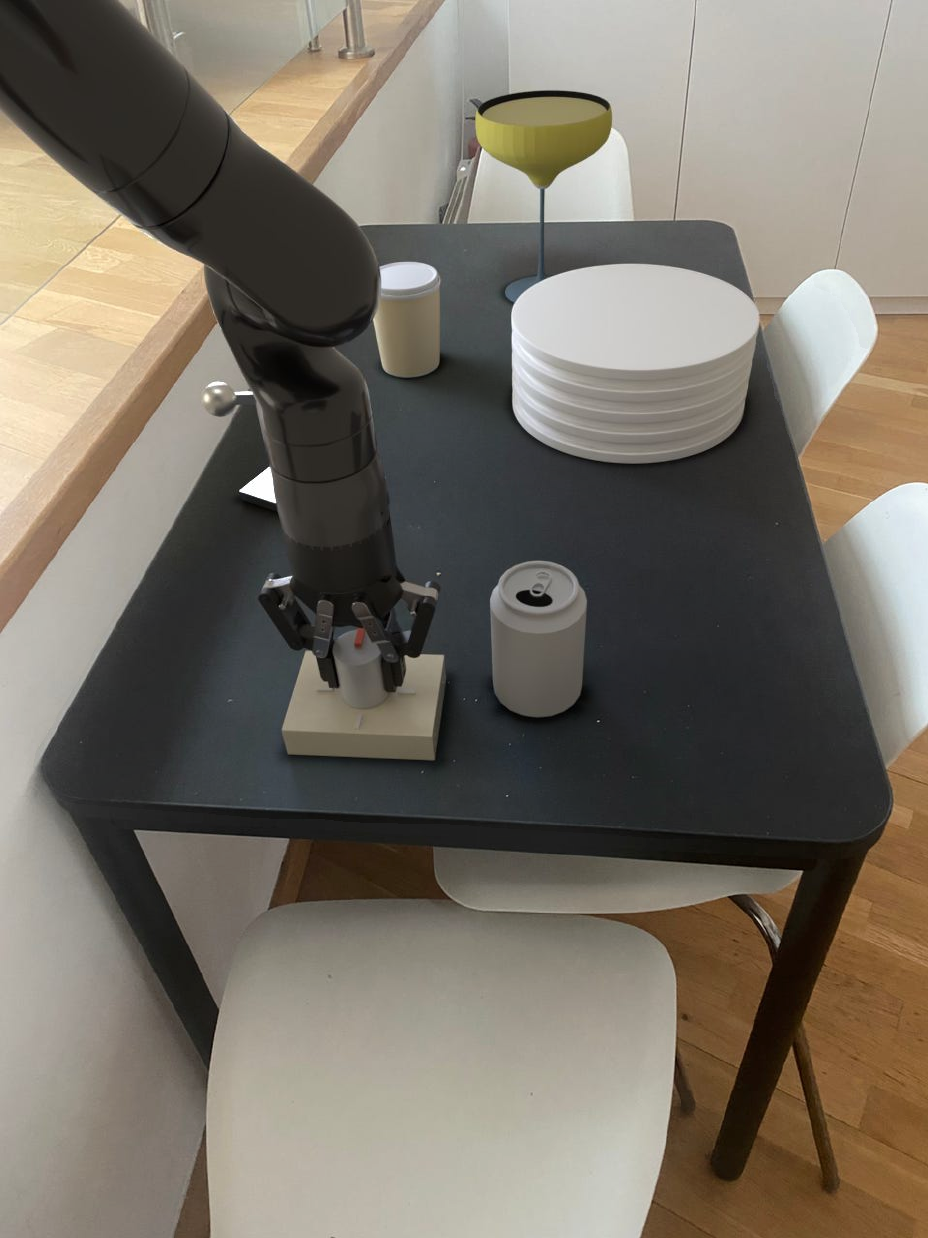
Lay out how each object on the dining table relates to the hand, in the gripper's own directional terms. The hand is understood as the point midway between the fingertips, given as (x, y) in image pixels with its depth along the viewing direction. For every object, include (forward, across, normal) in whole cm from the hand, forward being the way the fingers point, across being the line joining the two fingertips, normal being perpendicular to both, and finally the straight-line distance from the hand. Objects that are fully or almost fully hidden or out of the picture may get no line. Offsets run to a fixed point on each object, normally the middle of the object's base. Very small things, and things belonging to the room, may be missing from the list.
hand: (365, 682), depth 74 cm
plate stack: (+4, +21, +54) cm, 57 cm away
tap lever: (-8, -17, +28) cm, 33 cm away
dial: (+1, 0, 0) cm, 1 cm away
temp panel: (+4, 0, 0) cm, 4 cm away
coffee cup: (+4, -8, +62) cm, 62 cm away
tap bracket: (+4, -15, +33) cm, 36 cm away
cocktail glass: (+4, +8, +85) cm, 86 cm away
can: (+4, +14, +4) cm, 15 cm away
